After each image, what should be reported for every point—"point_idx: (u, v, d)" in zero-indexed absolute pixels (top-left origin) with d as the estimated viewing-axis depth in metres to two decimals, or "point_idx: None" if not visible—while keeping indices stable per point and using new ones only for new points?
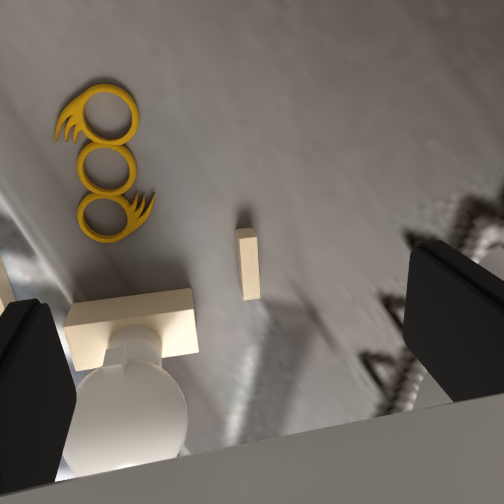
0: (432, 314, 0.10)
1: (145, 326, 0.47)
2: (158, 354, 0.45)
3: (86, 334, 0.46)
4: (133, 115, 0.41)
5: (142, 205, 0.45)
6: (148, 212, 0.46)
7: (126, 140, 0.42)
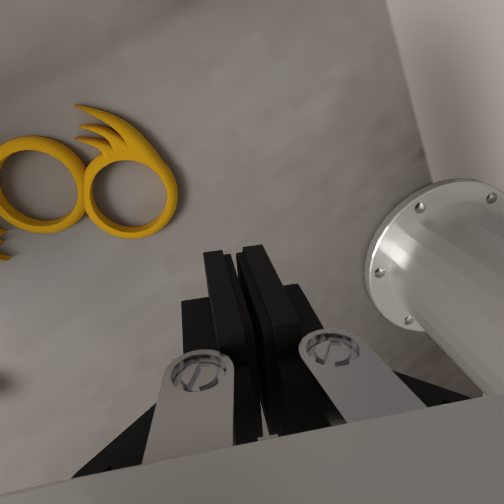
0: None
1: None
2: None
3: None
4: (136, 234, 0.27)
5: None
6: None
7: (94, 221, 0.26)
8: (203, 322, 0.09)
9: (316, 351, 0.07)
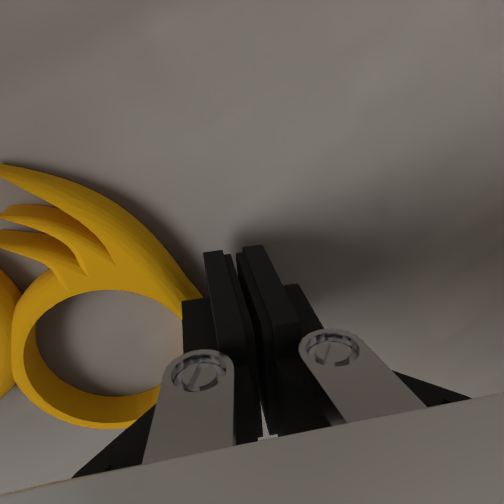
0: None
1: None
2: None
3: None
4: (123, 425, 0.13)
5: None
6: None
7: (35, 403, 0.12)
8: (203, 321, 0.09)
9: (316, 351, 0.07)
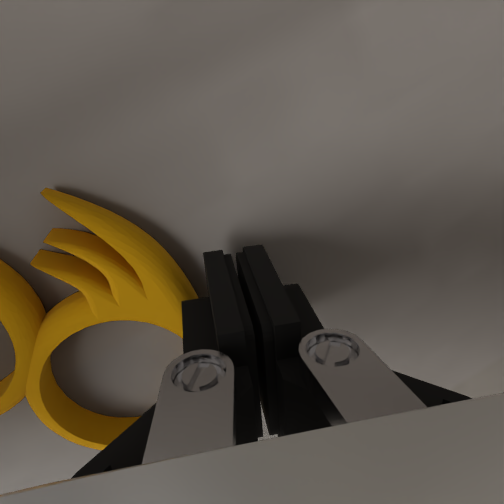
0: None
1: None
2: None
3: None
4: None
5: None
6: None
7: (41, 419, 0.12)
8: (203, 322, 0.09)
9: (316, 351, 0.07)
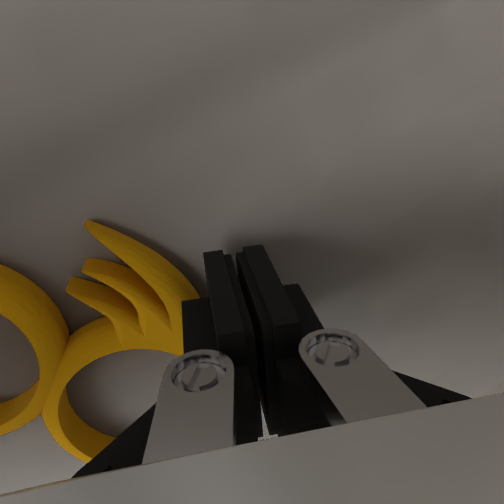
0: None
1: None
2: None
3: None
4: None
5: None
6: None
7: (54, 437, 0.13)
8: (203, 322, 0.09)
9: (316, 351, 0.07)
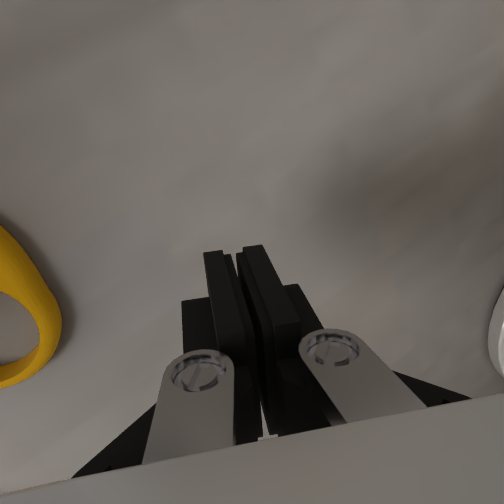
0: None
1: None
2: None
3: None
4: None
5: None
6: None
7: None
8: (203, 322, 0.09)
9: (316, 351, 0.07)
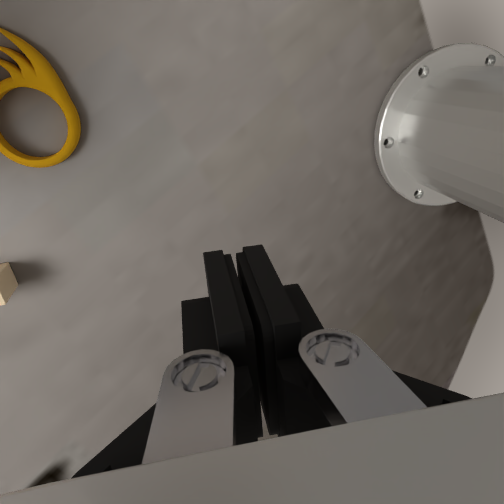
0: None
1: None
2: None
3: None
4: (30, 162, 0.28)
5: None
6: None
7: None
8: (203, 322, 0.09)
9: (316, 351, 0.07)
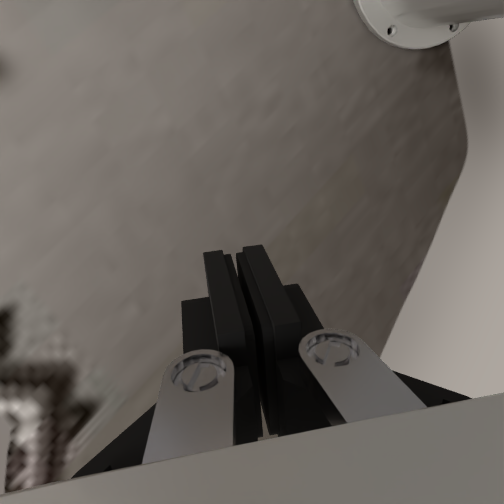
0: None
1: None
2: None
3: None
4: None
5: None
6: None
7: None
8: (203, 321, 0.09)
9: (316, 351, 0.07)
